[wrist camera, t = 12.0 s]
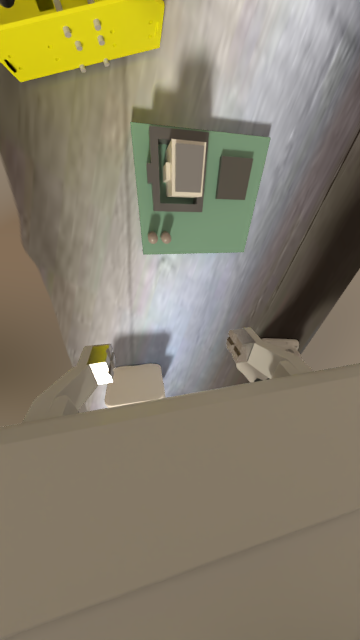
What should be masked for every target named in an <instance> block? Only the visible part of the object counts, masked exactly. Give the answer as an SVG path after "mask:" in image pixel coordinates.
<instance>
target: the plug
mask: <svg viewBox="0 0 360 640" xmlns="http://www.w3.org/2000/svg"><path fill="white" fill-rule="evenodd" d="M205 153H206V142H198V141H188V140H178V139H171V141H170V144H169V146H168V148H167V150H166V152H165V165H164V166H163V168H162V169H163V182H165V183H166V197H182V198H194V197H202V190H203V177H204V165H205Z"/></svg>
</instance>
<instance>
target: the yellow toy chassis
mask: <svg viewBox="0 0 360 640" xmlns="http://www.w3.org/2000/svg"><path fill="white" fill-rule="evenodd" d="M164 7H165V5H164V1H162V0H0V62H1V63H2V64H3V65H4V66H5V67H6V68H7V69H8V70H9V71H10V72H11V73H12V74H13V75H14V76H15V77H16V78H17V79H18V80H19V81H20V82H23V81H27V80H31V79H35V78H40V77H44V76H48V75H52V74H56V73H60V72H64V71H68V70H72V69H76V68H80V70H81V72H86V69H85V66H88V65H92V64H96V63H100V62H104V65H105V66H106V67H108V66H109V65H110V64H109V61H108V60H112V59H116V58H120V57H124V56H128V55H132V54H136V53H140V52H144V51H148V50H152V49H156V48H160V39H161V31H162V23H163V15H164Z"/></svg>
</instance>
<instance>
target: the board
mask: <svg viewBox="0 0 360 640" xmlns="http://www.w3.org/2000/svg"><path fill="white" fill-rule="evenodd" d="M130 124H131V134H132V144H133V154H134V164H135V174H136V184H137V195H138V205H139V215H140V225H141V235H142V245H143V254H186V253H230V252H244V249H245V245H246V240H247V236H248V232H249V227H250V223H251V219H252V215H253V210H254V206H255V202H256V198H257V193H258V189H259V185H260V181H261V176H262V172H263V168H264V164H265V159H266V155H267V151H268V147H269V142H270V137H261V136H252V135H243V134H234V133H225V132H216V131H207V130H198V129H189V128H180V127H171V126H162V125H153V124H144V123H135V122H130ZM171 139H178V140H188V141H198V142H206V153H205V165H204V177H203V190H202V197H194V198H182V197H166V183H165V182H163V169H162V168H163V166H164V165H165V152H166V150H167V148H168V146H169V144H170V141H171Z"/></svg>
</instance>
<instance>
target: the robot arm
mask: <svg viewBox="0 0 360 640" xmlns="http://www.w3.org/2000/svg"><path fill="white" fill-rule="evenodd" d="M228 335H229V337H228V338H227V341H226V345H227V349H228V351H229V352H231V353H232V357H233V359H234V360H235V362H236V366H237V368H238V370H240V371H241V372H242V373H243V374H244V375H245V376H246V378H247V379H248V380H249V381H250V383H246V384H240V385H235V386H229V387H223V388H218V389H212V390H207V391H201V392H195V393H190V394H184V395H178V396H173V397H167V398H161V399H156V400H150V401H144V402H139V403H133V404H127V405H122V406H116V407H111V408H105V409H99V410H94V411H88V412H82V413H79V409H80V408H81V407H82V406H83V404H84V403H85V402H86V400H87V399H88V398H89V397H90V395H91V394H92V393H93V391H94V390H95V389H96V388H97V386H98V385H99V384H104V383H110V382H113V376H114V371H113V369H114V368H115V355H114V353H113V352H112V349H113V348H112V345H111V344H102V345H94V346H85V347H84V348H83V351H82V353H81V356H80V358H79V361H78V363H77V366H76V367H73V368H72V369H71V370H70V371H68V372H67V373H66V374H64V375H63V376H62V377H61V378H60V379H59V380H57V381H56V382H55V383H54V384H52V385H51V386H50V387H49V388H48V389H46V390H45V391H44V392H43V393H42V394H40V395H39V396H38V397H37V398H36V399H35V400H34V401H33V403H32V405H31V407H30V409H29V411H28V412H27V414H26V416H25V418H24V420H23V422H22V423H21V424H15V425H9V426H4V427H0V640H360V363H359V364H353V365H347V366H342V367H336V368H331V369H325V370H319V371H313V370H312V369H311V368H310V367H309V366H308V365H307V364H306V363H305V362H304V361H303V360H302V357H301V355H300V353H299V352H298V351H297V349H298V346H299V342H298V341H297V340H295V339H274V338H263V339H260V338H259V336H258V335H257V334H256V333H255V332H254V331H253V330H252V329H251V328H243V329H234V330H230V331H229V333H228Z"/></svg>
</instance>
